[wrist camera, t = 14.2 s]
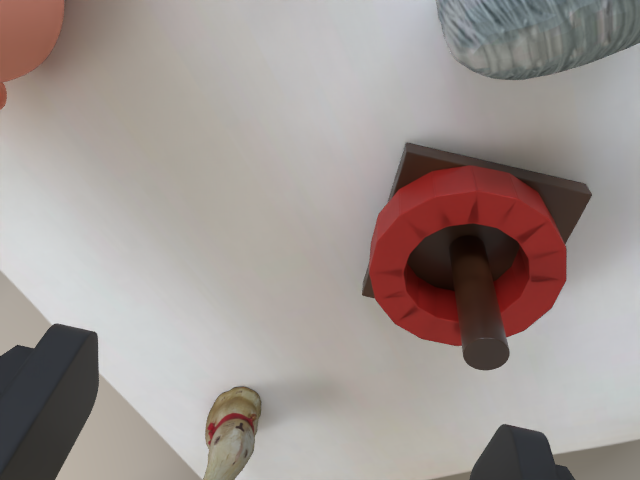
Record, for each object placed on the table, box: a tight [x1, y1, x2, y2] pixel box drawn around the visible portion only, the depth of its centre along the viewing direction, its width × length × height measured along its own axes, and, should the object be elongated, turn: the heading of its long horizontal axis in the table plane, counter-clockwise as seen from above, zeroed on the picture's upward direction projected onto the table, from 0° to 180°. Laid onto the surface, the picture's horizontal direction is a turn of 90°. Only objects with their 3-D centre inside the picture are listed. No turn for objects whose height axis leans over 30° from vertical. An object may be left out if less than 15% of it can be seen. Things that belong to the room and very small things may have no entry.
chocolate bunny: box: [203, 387, 261, 480], centre depth 48 cm, size 6×8×10 cm
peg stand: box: [362, 143, 592, 370], centre depth 34 cm, size 12×12×12 cm
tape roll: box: [369, 165, 566, 346], centre depth 36 cm, size 12×12×3 cm
